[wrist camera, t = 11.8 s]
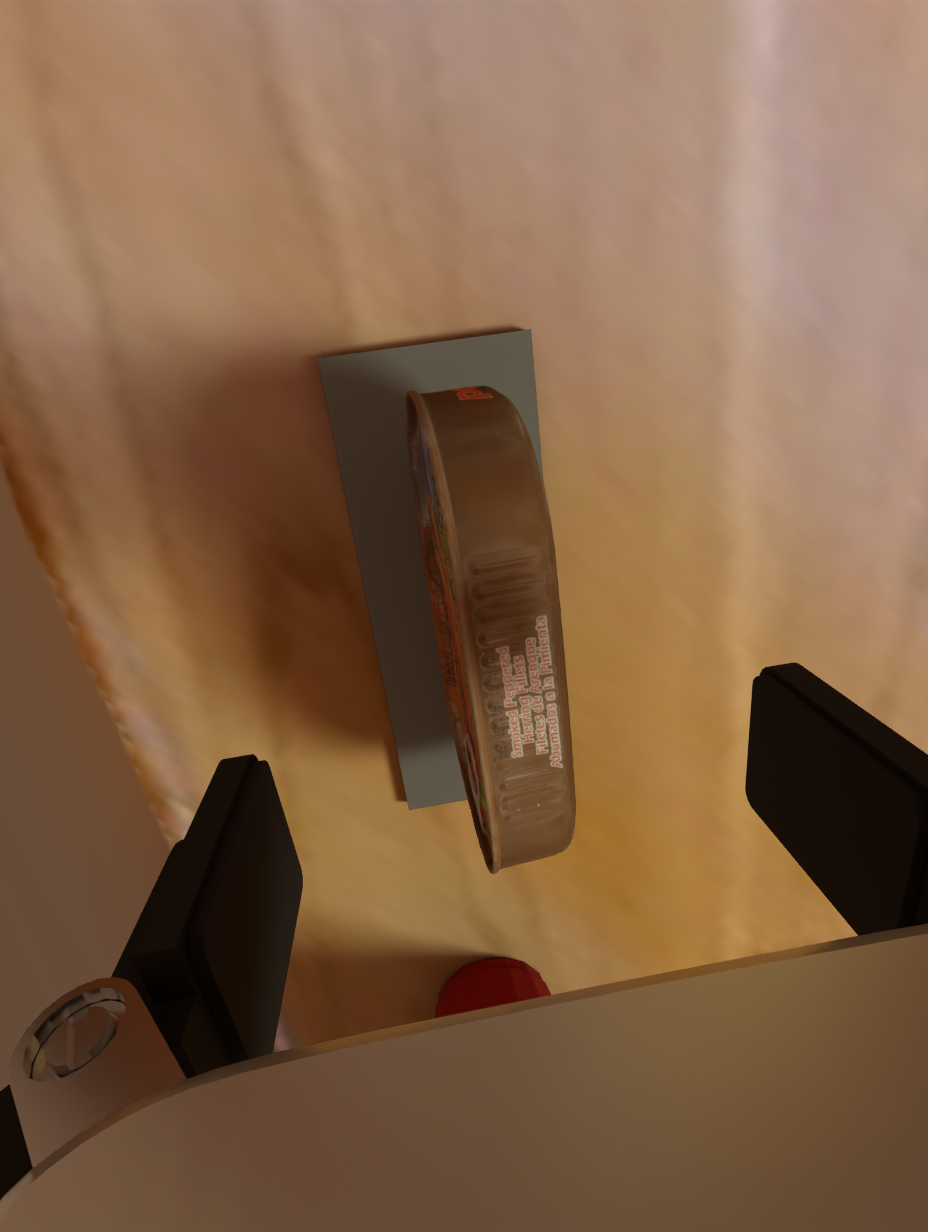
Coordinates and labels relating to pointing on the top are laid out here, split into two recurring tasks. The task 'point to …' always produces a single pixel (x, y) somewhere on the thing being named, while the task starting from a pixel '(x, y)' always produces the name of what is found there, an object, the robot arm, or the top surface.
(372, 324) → the top surface
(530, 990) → the plastic cup
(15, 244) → the top surface
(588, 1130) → the robot arm
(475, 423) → the tin
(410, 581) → the mat
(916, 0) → the top surface
